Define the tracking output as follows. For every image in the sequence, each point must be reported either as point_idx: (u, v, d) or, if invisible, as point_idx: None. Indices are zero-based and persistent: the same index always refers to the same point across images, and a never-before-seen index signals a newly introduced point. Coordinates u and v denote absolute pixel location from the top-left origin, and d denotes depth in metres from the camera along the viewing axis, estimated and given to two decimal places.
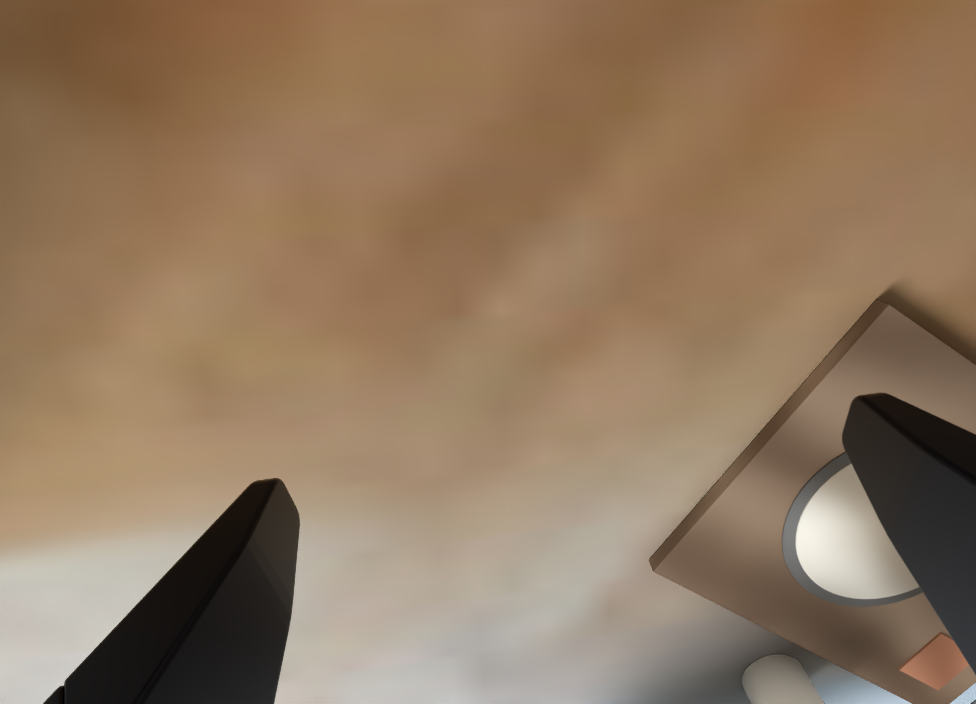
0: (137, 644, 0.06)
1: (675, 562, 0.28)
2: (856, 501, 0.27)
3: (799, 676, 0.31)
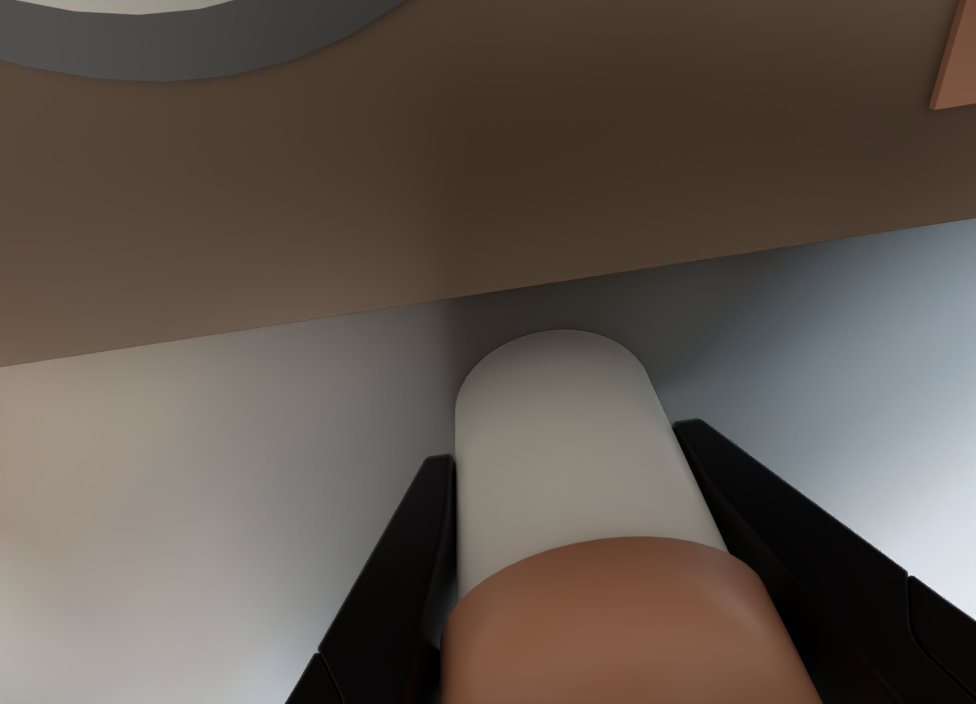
0: (380, 612, 0.06)
1: None
2: None
3: (531, 389, 0.08)
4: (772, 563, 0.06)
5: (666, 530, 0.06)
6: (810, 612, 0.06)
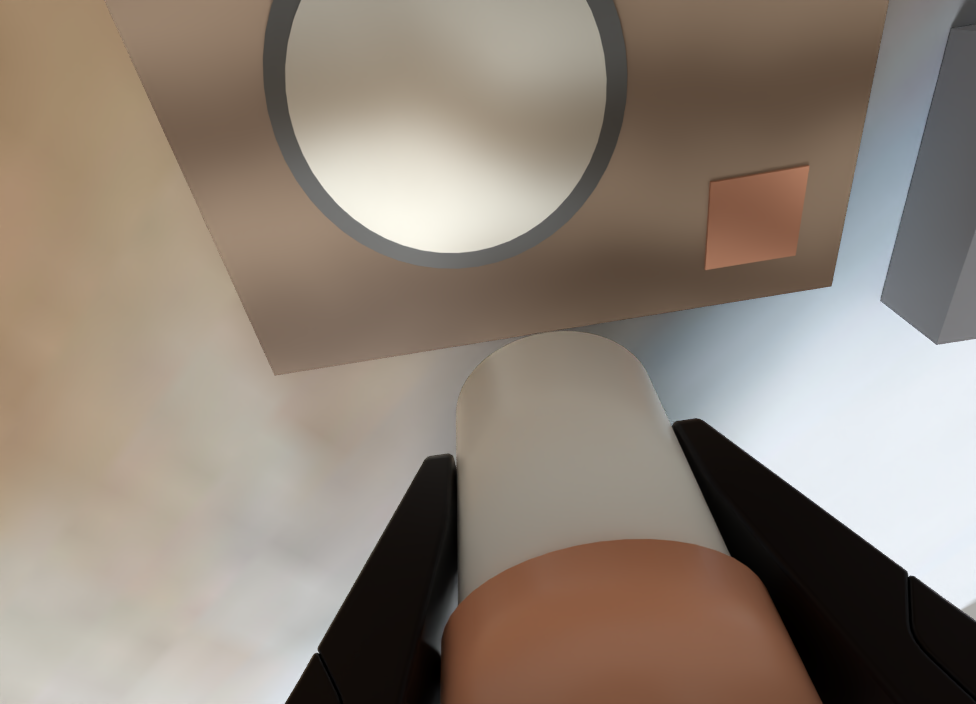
0: (380, 612, 0.06)
1: (281, 350, 0.20)
2: (360, 111, 0.16)
3: (532, 391, 0.08)
4: (772, 563, 0.06)
5: (668, 532, 0.06)
6: (810, 612, 0.06)
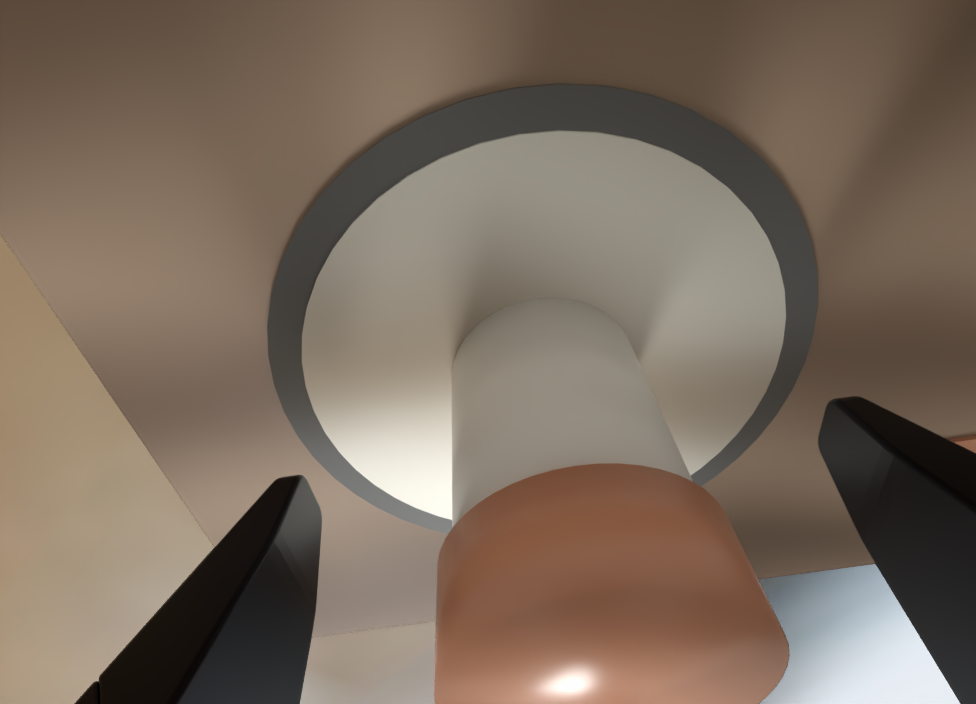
0: (170, 640, 0.06)
1: None
2: (413, 384, 0.11)
3: (521, 349, 0.09)
4: None
5: (637, 461, 0.07)
6: None
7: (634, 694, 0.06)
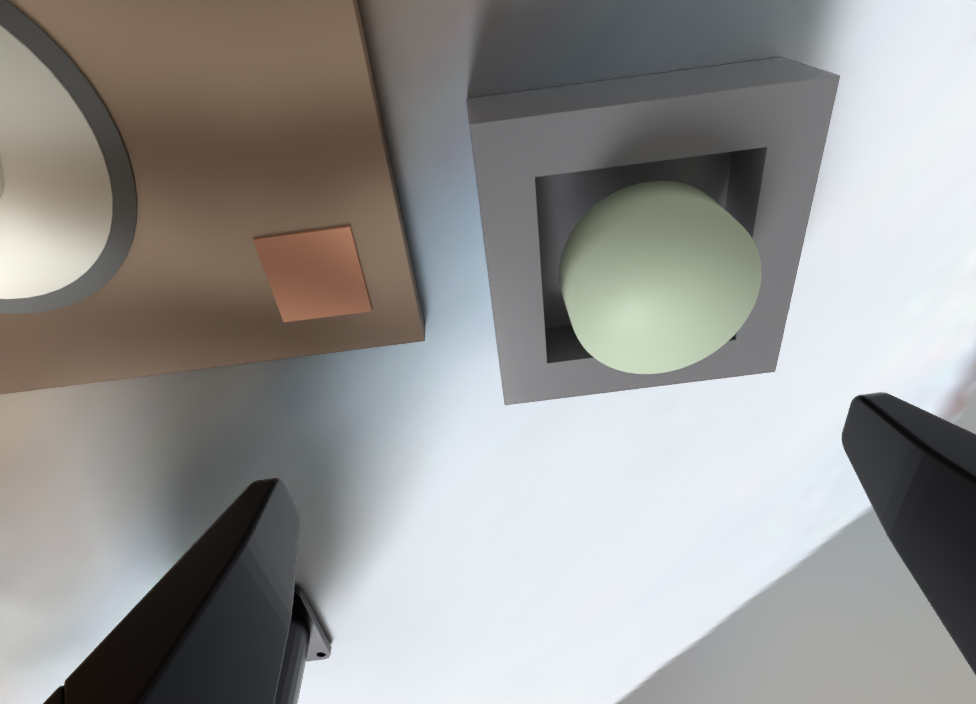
0: (137, 644, 0.06)
1: None
2: None
3: None
4: None
5: None
6: None
7: None
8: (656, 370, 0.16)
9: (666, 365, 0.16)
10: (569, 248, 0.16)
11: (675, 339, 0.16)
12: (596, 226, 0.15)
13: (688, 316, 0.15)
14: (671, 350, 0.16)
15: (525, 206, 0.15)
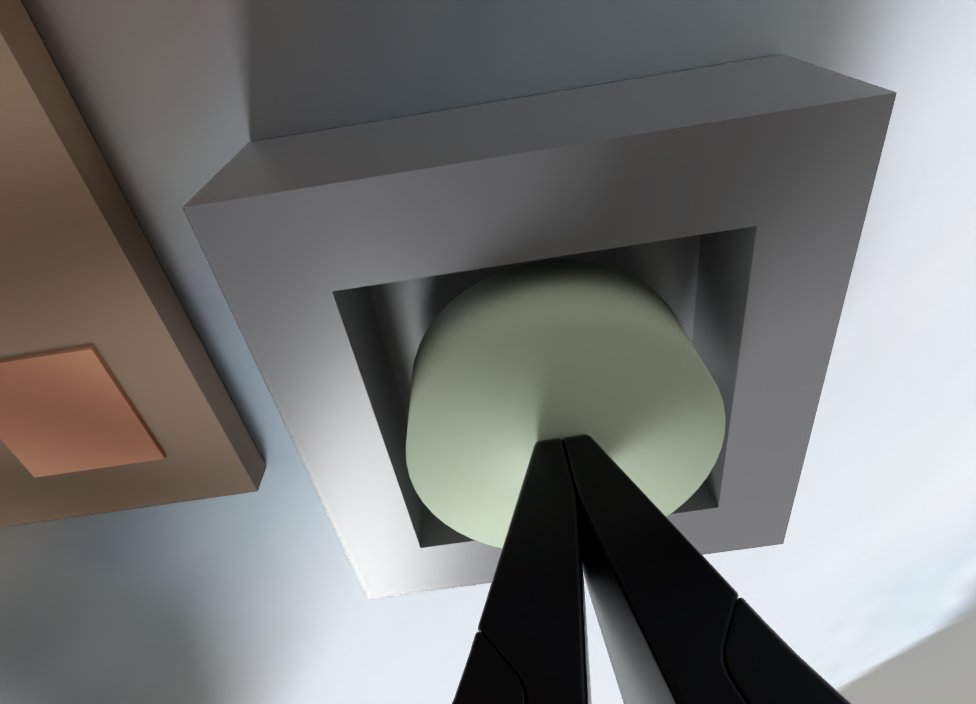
0: (535, 592, 0.06)
1: None
2: None
3: None
4: (617, 583, 0.06)
5: None
6: (639, 634, 0.06)
7: None
8: None
9: None
10: (414, 370, 0.10)
11: None
12: (441, 346, 0.09)
13: None
14: None
15: (326, 337, 0.09)
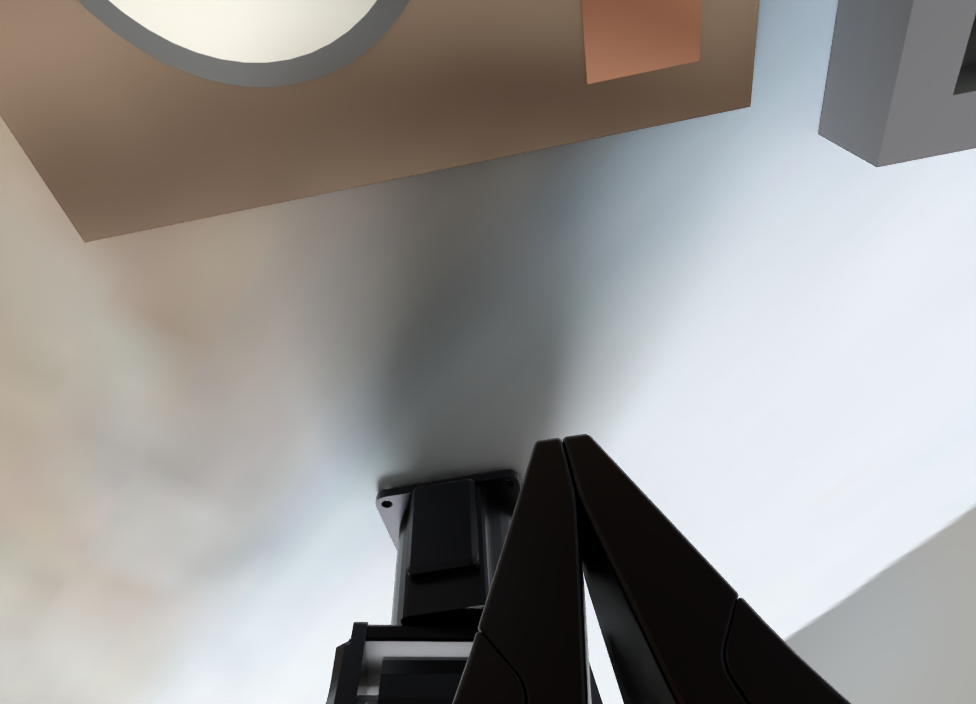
0: (535, 591, 0.06)
1: (83, 207, 0.17)
2: None
3: None
4: (617, 583, 0.06)
5: None
6: (639, 634, 0.06)
7: None
8: None
9: None
10: None
11: None
12: None
13: None
14: None
15: None
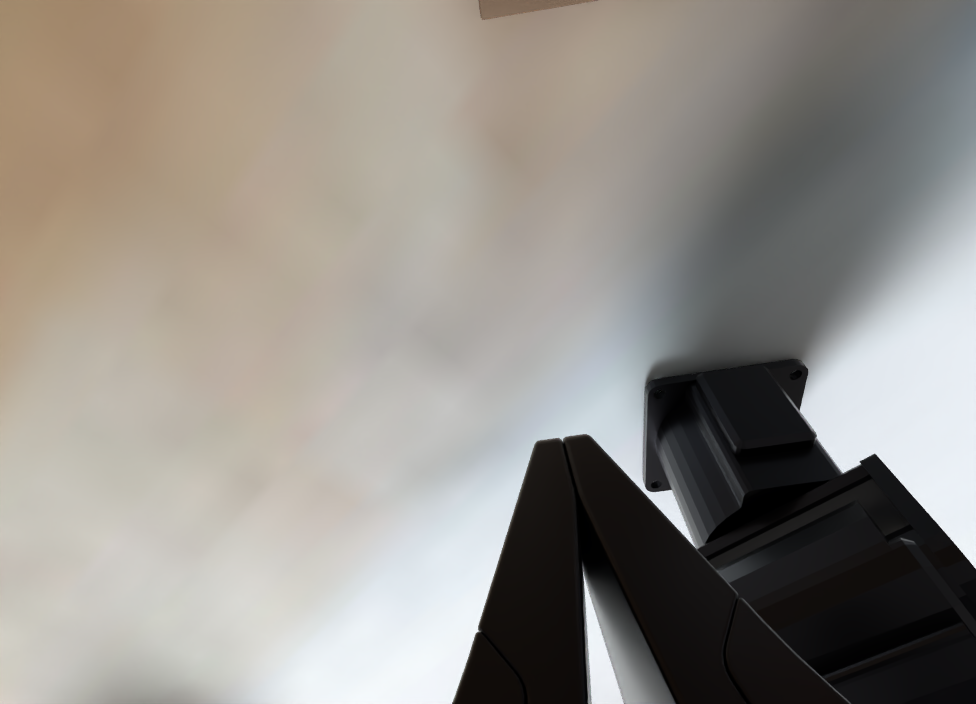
0: (535, 592, 0.06)
1: None
2: None
3: None
4: (617, 584, 0.06)
5: None
6: (639, 634, 0.06)
7: None
8: None
9: None
10: None
11: None
12: None
13: None
14: None
15: None
